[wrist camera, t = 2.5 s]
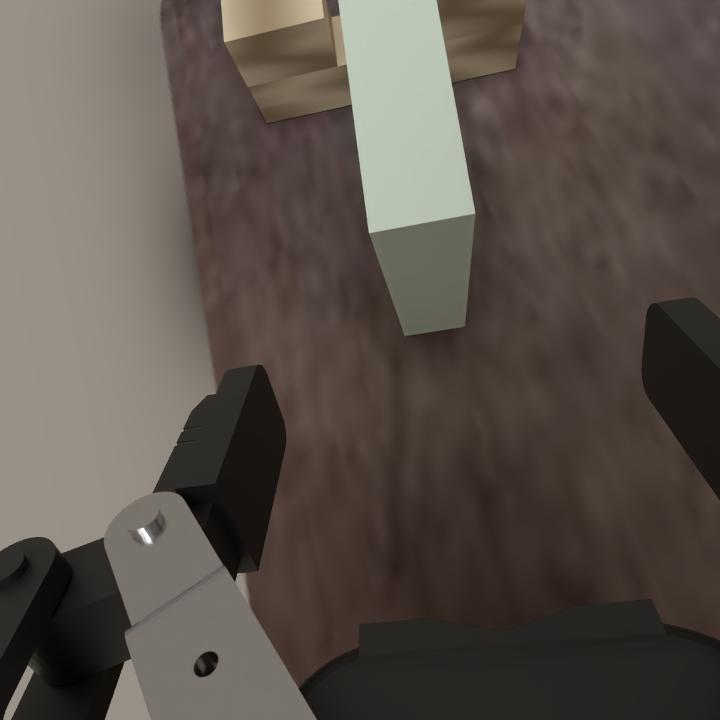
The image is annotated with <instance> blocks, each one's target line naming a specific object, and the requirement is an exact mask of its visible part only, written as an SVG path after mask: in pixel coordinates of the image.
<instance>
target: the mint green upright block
mask: <svg viewBox="0 0 720 720" xmlns="http://www.w3.org/2000/svg"><path fill="white" fill-rule="evenodd" d="M338 2H339V9H340V17H341V24H342V32H343V40H344V47H345V55H346V62H347V70H348V77H349V85H350V93H351V100H352V108H353V115H354V123H355V131H356V138H357V146H358V153H359V161H360V168H361V176H362V184H363V191H364V199H365V206H366V214H367V222H368V229H369V235H370V237H371V240H372V243H373V246H374V249H375V252H376V255H377V258H378V260H379V263H380V266H381V269H382V272H383V275H384V278H385V281H386V284H387V286H388V289H389V292H390V295H391V298H392V301H393V304H394V307H395V309H396V312H397V315H398V318H399V321H400V324H401V327H402V330H403V333H404V335H405V336H409V335H416V334H422V333H428V332H435V331H441V330H447V329H454V328H460V327H465V320H466V309H467V298H468V287H469V277H470V266H471V255H472V244H473V233H474V222H475V209H474V204H473V198H472V193H471V187H470V182H469V176H468V171H467V165H466V160H465V154H464V149H463V143H462V138H461V132H460V127H459V121H458V116H457V110H456V105H455V99H454V94H453V88H452V83H451V77H450V72H449V66H448V61H447V55H446V50H445V44H444V39H443V33H442V28H441V22H440V17H439V11H438V6H437V0H338Z"/></svg>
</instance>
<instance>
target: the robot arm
mask: <svg viewBox="0 0 720 720" xmlns="http://www.w3.org/2000/svg"><path fill="white" fill-rule="evenodd" d="M641 371H642V381H643V385H644V389H645V392H646V394H647V396H648V398H649V400H650V401H651V402H652V404H653V405H654V407H655V408H656V410H657V411H658V412H659V414H660V415H661V417H662V418H663V420H664V421H665V423H666V424H667V425H668V427H669V428H670V430H671V431H672V433H673V434H674V435H675V437H676V438H677V440H678V441H679V443H680V444H681V445H682V447H683V448H684V450H685V451H686V453H687V454H688V455H689V457H690V458H691V460H692V461H693V463H694V464H695V465H696V467H697V468H698V470H699V471H700V473H701V474H702V475H703V477H704V478H705V480H706V481H707V483H708V484H709V486H710V487H711V488H712V490H713V491H714V493H715V494H716V496H717V497H718V498H719V500H720V319H719V318H718V317H717V316H716V315H715V314H714V313H713V312H712V311H710V310H709V309H708V308H707V307H706V306H705V305H704V304H703V303H702V302H700V301H699V300H698V299H697V298H694V297H691V298H685V299H678V300H672V301H666V302H659V303H653V304H651V305H650V306H649V308H648V311H647V315H646V325H645V336H644V347H643V358H642V370H641ZM183 429H184V432H181V434H180V437H179V439H178V441H177V446H175V447H174V449H173V452H172V453H171V456H170V457H169V460H168V462H167V464H166V466H165V468H164V470H163V472H162V474H161V476H160V479H159V481H158V483H157V485H156V487H155V489H154V491H153V493H152V494H150V495H147V496H144V497H142V498H140V499H138V500H136V501H134V502H133V503H131V504H130V505H128V506H127V507H126V508H124V509H123V510H122V511H121V512H120V513H119V514H118V515H117V516H116V517H115V518H114V519H113V521H112V522H111V524H110V525H109V527H108V529H107V531H106V533H105V537H104V538H101V539H99V540H96V541H93V542H91V543H88V544H86V545H83V546H80V547H78V548H75V549H72V550H70V551H67V552H64V553H62V554H61V553H60V551H59V550H58V549H57V548H56V546H55V545H54V544H53V542H52V541H51V540H49V539H47V538H44V537H34V538H28V539H25V540H22V541H19V542H16V543H14V544H12V545H10V546H8V547H7V548H5V549H3V550H2V551H0V720H3V717H4V714H5V711H6V709H7V706H8V704H9V702H10V700H11V698H12V696H13V694H14V692H15V690H16V688H17V686H18V684H19V682H20V680H21V677H22V676H23V673H24V672H25V669H26V667H27V665H28V666H29V667H30V668H31V669H33V670H34V673H33V675H32V677H31V679H30V682H29V683H28V686H27V688H26V690H25V692H24V694H23V696H22V698H21V700H20V702H19V705H18V707H17V709H16V711H15V713H14V715H13V717H12V719H11V720H105V717H106V714H107V711H108V708H109V705H110V703H111V700H112V697H113V694H114V691H115V688H116V685H117V682H118V679H119V676H120V673H121V670H122V668H123V665H124V662H125V661H127V660H129V659H132V662H133V665H134V668H135V671H136V674H137V677H138V680H139V684H140V687H141V690H142V693H143V696H144V699H145V702H146V705H147V709H148V712H149V714H150V718H151V720H720V640H717V639H715V638H713V637H710V636H707V635H704V634H702V633H699V632H696V631H693V630H689V629H685V628H682V627H678V626H674V625H668V624H662V621H661V619H660V617H659V615H658V613H657V611H656V608H655V606H654V604H653V602H652V600H651V599H648V600H637V601H625V602H614V603H602V604H590V605H579V606H574V607H571V608H568V609H565V610H562V611H559V612H557V613H554V614H551V615H548V616H545V617H543V618H540V619H537V620H534V621H531V622H528V623H526V624H523V625H520V626H517V627H514V628H512V629H508V630H493V629H487V628H481V627H475V626H469V625H463V624H457V623H451V622H445V621H439V620H433V619H416V620H405V621H393V622H381V623H370V624H360V629H359V647H358V648H356V649H353V650H351V651H348V652H346V653H344V654H342V655H340V656H338V657H336V658H334V659H333V660H331V661H330V662H328V663H327V664H325V665H324V666H322V667H321V668H319V669H318V670H317V671H316V672H315V673H314V674H312V675H311V676H310V677H309V678H308V679H306V680H305V681H304V683H303V684H302V685H301V686H300V687H299V688H298V687H297V686H296V684H295V682H294V681H293V679H292V677H291V676H290V674H289V672H288V671H287V669H286V667H285V666H284V664H283V662H282V661H281V659H280V657H279V655H278V654H277V652H276V650H275V649H274V647H273V645H272V644H271V642H270V640H269V639H268V637H267V635H266V634H265V632H264V630H263V629H262V627H261V625H260V624H259V622H258V620H257V619H256V617H255V615H254V614H253V612H252V610H251V609H250V607H249V605H248V604H247V602H246V600H245V599H244V597H243V595H242V594H241V592H240V590H239V589H238V587H237V585H236V584H235V580H236V577H237V573H245V572H255V571H258V570H259V565H260V560H261V556H262V551H263V547H264V542H265V538H266V533H267V529H268V524H269V520H270V515H271V511H272V506H273V502H274V497H275V493H276V488H277V483H278V479H279V474H280V470H281V465H282V461H283V456H284V452H285V447H286V430H285V424H284V420H283V417H282V414H281V411H280V408H279V406H278V403H277V400H276V397H275V395H274V392H273V389H272V386H271V384H270V381H269V378H268V375H267V373H266V371H265V369H264V367H263V366H262V365H255V366H248V367H242V368H236V369H230V370H227V371H226V372H225V374H224V376H223V379H222V381H221V383H220V386H219V388H218V390H217V392H216V394H214V395H208V396H206V397H205V398H204V399H203V400H202V401H201V402H200V403H199V404H198V405H197V406H196V407H195V408H194V409H193V410H192V412H191V414H190V416H189V418H188V420H187V422H186V424H185V426H184V428H183Z"/></svg>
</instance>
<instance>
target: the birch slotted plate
mask: <svg viewBox="0 0 720 720" xmlns="http://www.w3.org/2000/svg"><path fill="white" fill-rule="evenodd" d="M525 5H526V0H437V6H438V11H439V17H440V22H441V28H442V33H443V39H444V44H445V50H446V55H447V61H448V66H449V72H450V77H451V83H453V82H457V81H462V80H466V79H471V78H476V77H480V76H485V75H489V74H494V73H498V72H503V71H507V70H512V69H515V68H516V62H517V55H518V49H519V43H520V37H521V30H522V24H523V18H524V11H525ZM221 6H222V19H223V33H224V43H225V45H226V47H227V49H228V51H229V52H230V54H231V56H232V58H233V60H234V62H235V64H236V66H237V68H238V69H239V71H240V73H241V75H242V77H243V79H244V81H245V83H246V84H247V86H248V88H249V90H250V92H251V94H252V96H253V98H254V100H255V101H256V103H257V105H258V107H259V109H260V111H261V113H262V115H263V117H264V118H265V120H266V122H267V123H271V122H276V121H280V120H285V119H289V118H294V117H298V116H303V115H307V114H312V113H317V112H321V111H326V110H330V109H335V108H339V107H344V106H348V105H352V100H351V93H350V85H349V77H348V70H347V62H346V55H345V47H344V40H343V32H342V24H341V17H340V16H336V17H332V18H331V14H330V10H329V6H328V3H327V0H221Z"/></svg>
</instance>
